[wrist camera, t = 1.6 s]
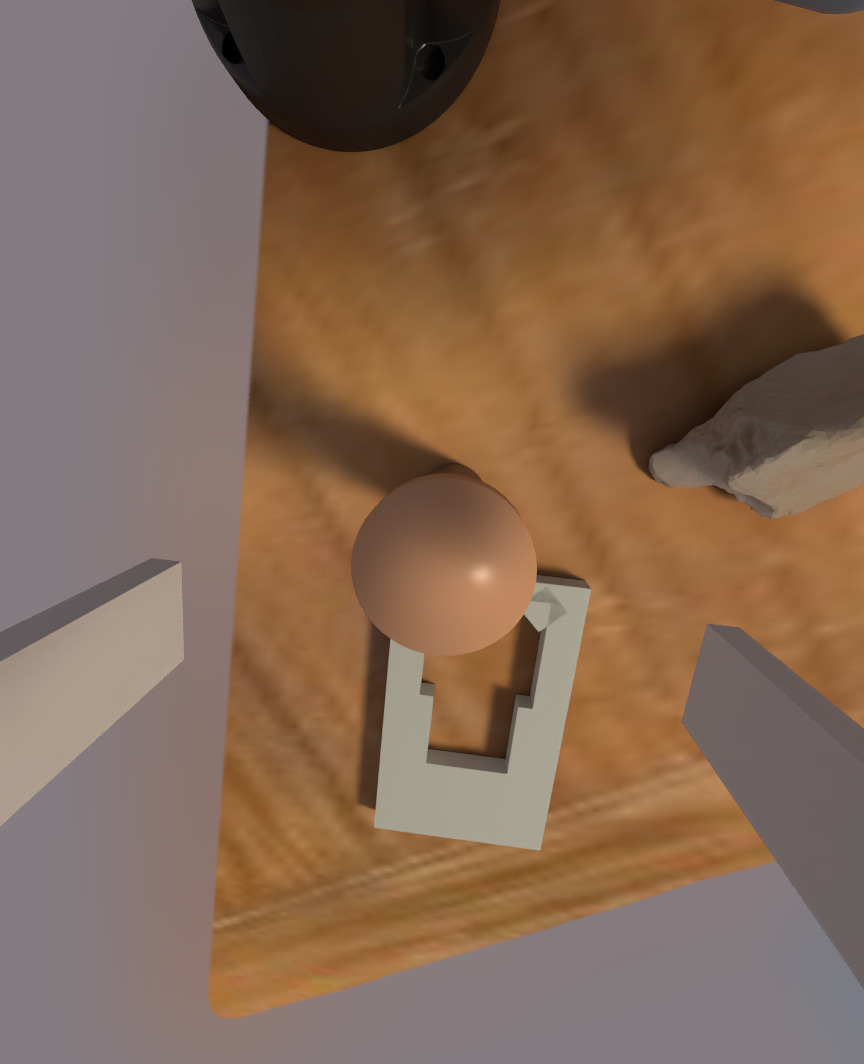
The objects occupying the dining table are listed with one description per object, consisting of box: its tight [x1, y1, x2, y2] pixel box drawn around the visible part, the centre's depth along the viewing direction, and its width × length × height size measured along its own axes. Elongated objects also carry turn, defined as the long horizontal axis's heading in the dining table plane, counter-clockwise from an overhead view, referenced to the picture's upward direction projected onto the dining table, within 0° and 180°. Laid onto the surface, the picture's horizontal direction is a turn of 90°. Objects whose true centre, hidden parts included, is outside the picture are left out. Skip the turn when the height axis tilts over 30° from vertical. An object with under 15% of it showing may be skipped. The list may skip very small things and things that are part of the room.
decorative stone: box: [649, 334, 864, 519], centre depth 25 cm, size 8×14×8 cm, turn 115°
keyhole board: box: [374, 575, 591, 850], centre depth 34 cm, size 20×12×2 cm, turn 174°
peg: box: [351, 464, 537, 656], centre depth 24 cm, size 6×6×14 cm
